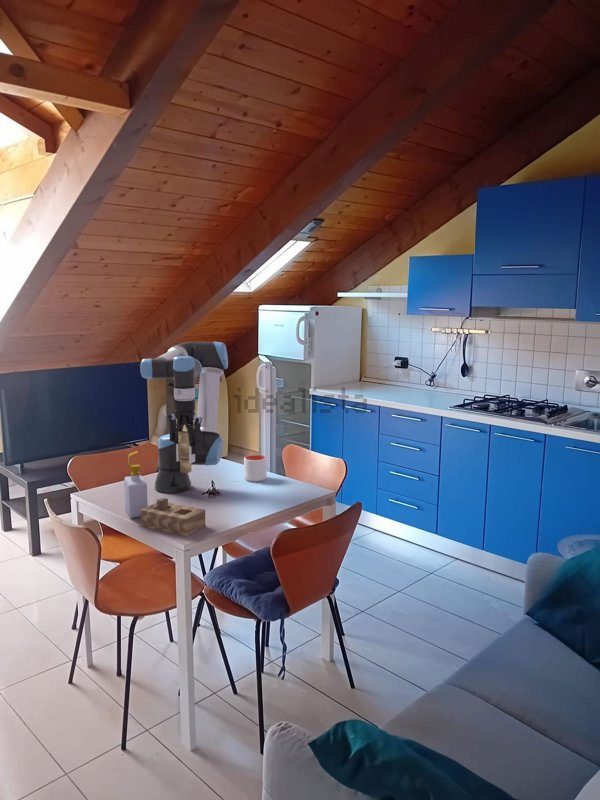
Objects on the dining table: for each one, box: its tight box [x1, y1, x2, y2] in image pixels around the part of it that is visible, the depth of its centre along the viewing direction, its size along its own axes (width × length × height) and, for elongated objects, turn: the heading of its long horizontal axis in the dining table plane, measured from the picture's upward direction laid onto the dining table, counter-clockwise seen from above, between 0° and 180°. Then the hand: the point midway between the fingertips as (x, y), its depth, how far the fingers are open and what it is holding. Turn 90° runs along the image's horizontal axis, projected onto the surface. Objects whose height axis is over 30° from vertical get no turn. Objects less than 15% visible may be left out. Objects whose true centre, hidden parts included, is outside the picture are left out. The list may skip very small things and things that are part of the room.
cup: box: [243, 454, 268, 483], centre depth 277 cm, size 10×10×10 cm
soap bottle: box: [123, 450, 149, 519], centre depth 231 cm, size 12×7×23 cm, turn 23°
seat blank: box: [139, 497, 206, 537], centre depth 219 cm, size 20×11×9 cm, turn 64°
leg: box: [178, 429, 192, 474], centre depth 228 cm, size 5×5×15 cm
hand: (185, 461), depth 228 cm, fingers closed on leg, 5 cm apart
